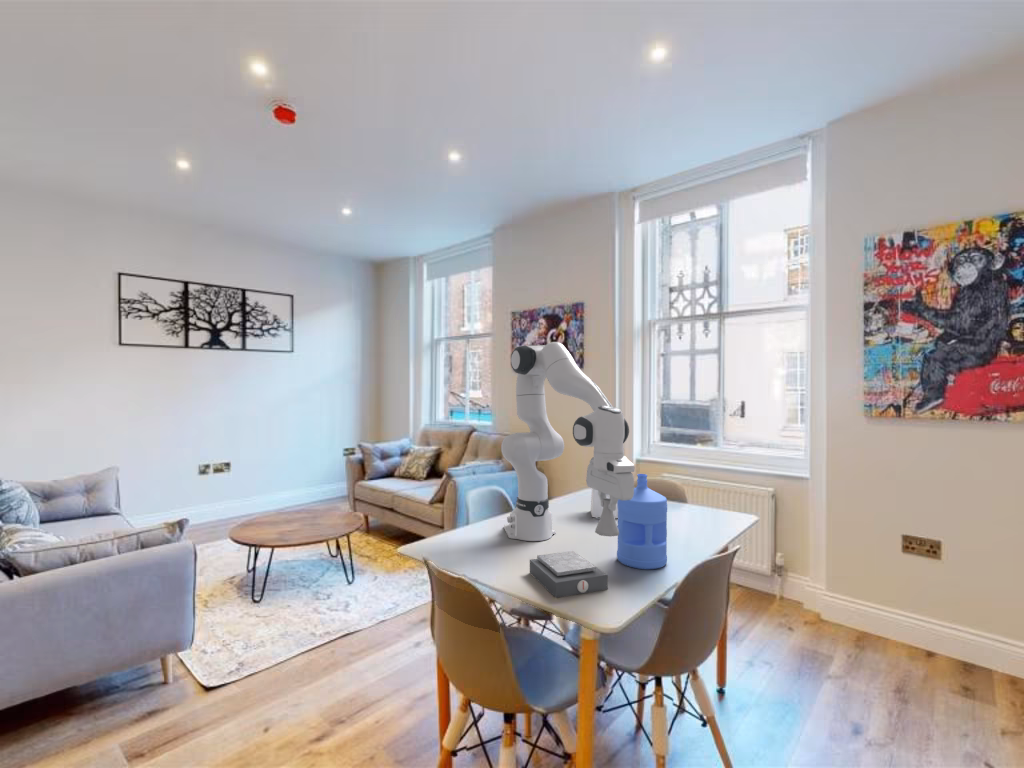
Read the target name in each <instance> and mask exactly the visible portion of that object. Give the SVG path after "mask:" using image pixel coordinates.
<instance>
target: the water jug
mask: <svg viewBox="0 0 1024 768" xmlns="http://www.w3.org/2000/svg"><path fill="white" fill-rule="evenodd" d="M647 478H648V474H646V473H645V474H644V473H637V479H636V482H637V484H636V487H634V495H633V498H632V499H631V500H620V499H618V502H617V508H618V519H617V527H618V530H619V536H617V550H616V558H617V560H618V562H620V563H621V564H622V565H624V566H627V567H630V568H633V569H639V570H656V569H657V570H658V569H661V568H663V567H665V566H666V564H667V562H668V556H667V555H668V554H667V551H668V550H667V543H668V542H667V541H668V540H667V537H668V528H667V522H668V518H667V517H668V516H667V515H668V500H667V497H666V496H665V495H662V494H661V493H659V492H657V491H655V490H652V489H651V488H649V487H648V479H647Z"/></svg>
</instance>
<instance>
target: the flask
mask: <svg viewBox="0 0 1024 768" xmlns="http://www.w3.org/2000/svg"><path fill="white" fill-rule="evenodd" d="M610 500H611V499H610V498H603V502H604V505H603V511H602V514H601V517H600V518H599V520H598V522H597V525H596V528H595V530H594V533H595V534H597V535H599V536H603V537H618V536H619V530H618V527H617V525H618V523H617V521H616V519H615V517H614V514H613V511H610V510H608V504H610Z"/></svg>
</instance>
